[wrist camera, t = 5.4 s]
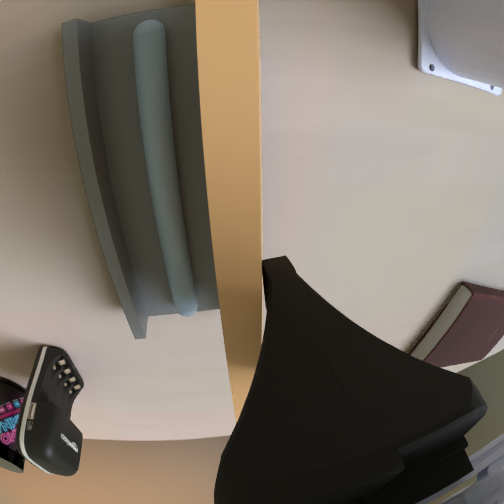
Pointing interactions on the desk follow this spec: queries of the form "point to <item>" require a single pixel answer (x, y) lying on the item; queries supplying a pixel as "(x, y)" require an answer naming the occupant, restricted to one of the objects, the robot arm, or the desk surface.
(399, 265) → the desk surface
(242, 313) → the cover
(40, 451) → the battery charger
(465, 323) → the book
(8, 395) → the supplement container
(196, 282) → the grey tray with rod
